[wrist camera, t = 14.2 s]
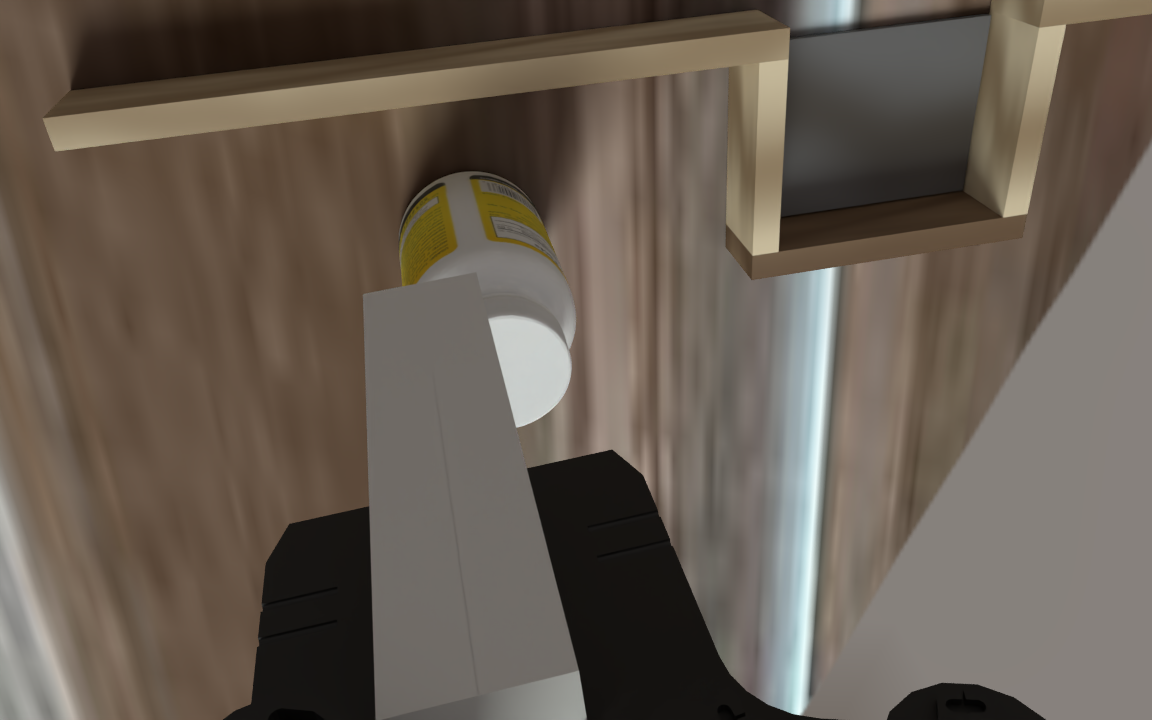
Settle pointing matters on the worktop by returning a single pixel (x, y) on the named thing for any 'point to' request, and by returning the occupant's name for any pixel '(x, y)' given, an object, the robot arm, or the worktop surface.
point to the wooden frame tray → (755, 116)
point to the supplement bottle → (498, 278)
